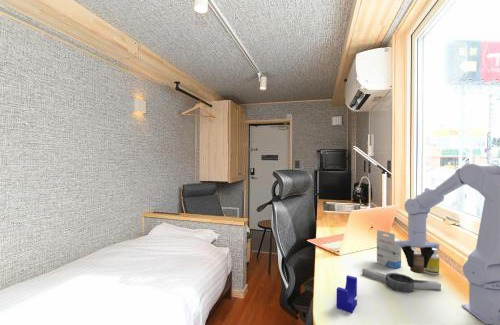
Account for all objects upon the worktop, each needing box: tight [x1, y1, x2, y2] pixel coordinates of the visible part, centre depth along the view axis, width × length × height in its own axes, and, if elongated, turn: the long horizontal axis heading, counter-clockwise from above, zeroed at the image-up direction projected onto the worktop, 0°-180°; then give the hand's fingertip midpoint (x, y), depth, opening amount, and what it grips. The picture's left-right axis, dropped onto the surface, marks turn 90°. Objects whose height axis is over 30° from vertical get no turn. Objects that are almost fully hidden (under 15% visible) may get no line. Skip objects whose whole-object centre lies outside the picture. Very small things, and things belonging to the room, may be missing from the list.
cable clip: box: [336, 274, 358, 314], centre depth 80 cm, size 12×4×6 cm, turn 144°
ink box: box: [376, 229, 402, 270], centre depth 111 cm, size 8×5×15 cm, turn 29°
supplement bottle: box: [424, 248, 440, 276], centre depth 104 cm, size 5×5×10 cm
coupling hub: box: [409, 252, 425, 275], centre depth 96 cm, size 5×4×6 cm
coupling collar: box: [361, 267, 442, 294], centre depth 93 cm, size 14×23×3 cm, turn 84°
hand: (417, 266), depth 96 cm, fingers closed on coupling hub, 4 cm apart
